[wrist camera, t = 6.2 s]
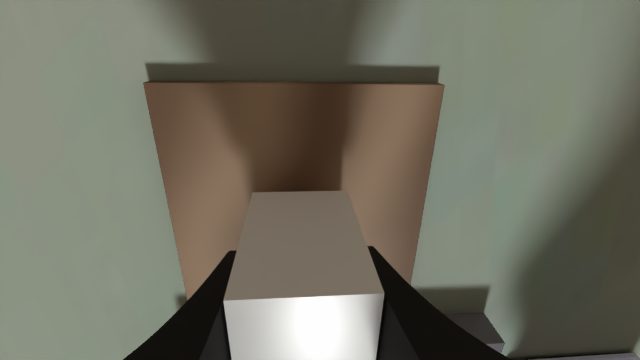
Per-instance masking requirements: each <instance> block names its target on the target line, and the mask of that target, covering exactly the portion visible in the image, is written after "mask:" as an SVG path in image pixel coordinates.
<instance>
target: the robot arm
mask: <svg viewBox="0 0 640 360" xmlns="http://www.w3.org/2000/svg"><path fill="white" fill-rule="evenodd" d="M367 247H368V249H369V252H370V255H371V258H372V260H373V263H374V266H375V269H376V271H377V274H378V277H379V280H380V282H381V285H382V288H383V291H384V301H383V309H382V316H381V324H380V332H379V339H378V347H377V355H376V360H511V359H509V358H508V357H506V356H504V355H503V354H501V353H499V352H498V351H496V350H494V349H493V348H491V347H490V346H488V345H486V344H485V343H483V342H482V341H480V340H479V339H477V338H476V337H474V336H473V335H471V334H470V333H468V332H467V331H465V330H464V329H463V328H461V327H460V326H458V325H457V324H456V323H454V322H453V321H452V320H450V319H449V318H448V317H447V316H445V315H444V314H443V313H441V312H440V311H439V310H438V309H436V308H435V307H434V306H433V305H432V304H430V303H429V302H428V301H427V300H426V299H425V298H424V297H422V296H421V295H420V294H419V293H418V292H417V291H416V290H415V289H414V288H413V287H412V286H411V285H410V284H409V283H408V282H407V281H406V280H405V279H404V278H403V277H402V276H401V275H400V274H399V273H398V272H397V271H396V270H395V269H394V268H393V267H392V266H391V265H390V264H389V263H388V262H387V261H386V259H385V258H384V257H383V256H382V255H381V254H380V253H379V252H378V251H377V250H376V248H375V247H374V246H367ZM236 252H237V250H231V251H228V252H227V253H226V255H225V256H224V257H223V259H222V260H221V261H220V263H219V264H218V265H217V266H216V268H215V269H214V270H213V272H212V273H211V274H210V275H209V276H208V278H207V279H206V280H205V281H204V282H203V284H202V285H201V286H200V287H199V288H198V289H197V291H196V292H195V293H194V294H193V295H192V296H191V297H190V298H189V300H188V301H187V302H186V303H185V304H184V305H183V306H182V307H181V308H180V309H179V310H178V311H177V312H176V313H175V314H174V315H173V316H172V317H171V318H170V319H169V320H168V321H167V322H166V323H165V324H164V325H163V326H162V327H161V328H160V329H159V330H158V331H157V332H155V333H154V334H153V335H152V336H151V337H150V338H149V339H148V340H147V341H145V342H144V343H143V344H142V345H141V346H139V347H138V348H137V349H136V350H134V351H133V352H132V353H131V354H129V355H128V356H127V357H126V358H124V359H123V360H232V359H231V352H230V345H229V338H228V330H227V323H226V316H225V309H224V302H223V300H224V296H225V293H226V289H227V285H228V281H229V278H230V274H231V270H232V267H233V263H234V259H235V255H236ZM530 360H640V358H639V357H638V356H637V355H636V354H634V353H622V354H606V355H591V356H576V357H560V358H545V359H530Z"/></svg>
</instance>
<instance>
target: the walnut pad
mask: <svg viewBox="0 0 640 360" xmlns="http://www.w3.org/2000/svg"><path fill="white" fill-rule="evenodd" d="M143 84H144V89H145V94H146V99H147V104H148V109H149V114H150V119H151V124H152V128H153V133H154V138H155V143H156V148H157V153H158V158H159V163H160V168H161V173H162V178H163V183H164V187H165V192H166V197H167V202H168V207H169V212H170V217H171V222H172V227H173V232H174V237H175V241H176V246H177V251H178V256H179V261H180V266H181V271H182V276H183V281H184V286H185V291H186V296H187V300H189V298H190V297H191V296H192V295H193V294H194V293H195V292H196V291H197V289H198V288H199V287H200V286H201V285H202V284H203V282H204V281H205V280H206V279H207V278H208V276H209V275H210V274H211V273H212V272H213V270H214V269H215V268H216V266H217V265H218V264H219V263H220V261H221V260H222V259H223V257H224V256H225V255H226V253H227V252H228V251H231V250H237V248H238V244H239V241H240V237H241V233H242V229H243V226H244V222H245V218H246V215H247V211H248V207H249V203H250V200H251V196H252V192H300V191H348V194H349V197H350V200H351V202H352V205H353V208H354V211H355V214H356V216H357V219H358V222H359V225H360V227H361V230H362V233H363V236H364V238H365V241H366V244H367V246H374V247H375V248H376V250H377V251H378V252H379V253H380V254H381V255H382V256H383V257H384V258H385V259H386V261H387V262H388V263H389V264H390V265H391V266H392V267H393V268H394V269H395V270H396V271H397V272H398V273H399V274H400V275H401V276H402V277H403V278H404V279H405V280H406V281H407V282H408V283H409V284H410V285H411V279H412V273H413V267H414V261H415V256H416V250H417V244H418V238H419V232H420V226H421V220H422V215H423V209H424V203H425V197H426V191H427V185H428V179H429V174H430V168H431V162H432V156H433V150H434V144H435V138H436V132H437V127H438V121H439V115H440V109H441V103H442V97H443V91H444V86H445V85H443V84H440V83H347V82H217V81H148V82H144V83H143Z"/></svg>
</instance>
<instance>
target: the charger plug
mask: <svg viewBox="0 0 640 360" xmlns="http://www.w3.org/2000/svg"><path fill="white" fill-rule="evenodd" d="M383 301H384V291H383V288H382V285H381V282H380V280H379V277H378V274H377V271H376V269H375V266H374V263H373V260H372V258H371V255H370V252H369V249H368V247H367V244H366V241H365V238H364V236H363V233H362V230H361V227H360V225H359V222H358V219H357V216H356V214H355V211H354V208H353V205H352V202H351V200H350V197H349V194H348V191H300V192H252V196H251V200H250V203H249V207H248V211H247V215H246V218H245V222H244V226H243V229H242V233H241V237H240V241H239V244H238V248H237V252H236V255H235V259H234V263H233V267H232V270H231V274H230V278H229V281H228V285H227V289H226V293H225V296H224V300H223V302H224V309H225V316H226V323H227V330H228V338H229V345H230V352H231V359H232V360H376V355H377V347H378V339H379V332H380V324H381V316H382V309H383Z"/></svg>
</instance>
